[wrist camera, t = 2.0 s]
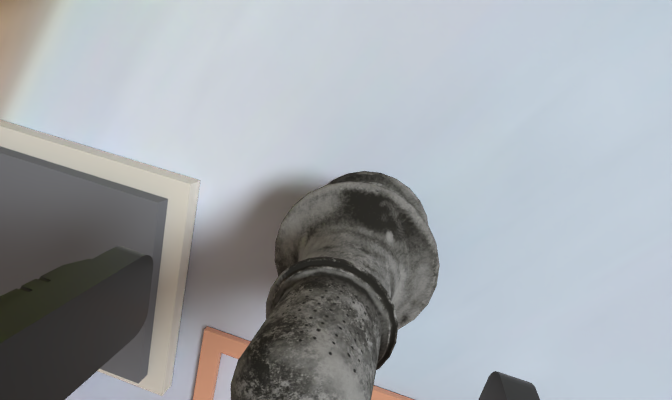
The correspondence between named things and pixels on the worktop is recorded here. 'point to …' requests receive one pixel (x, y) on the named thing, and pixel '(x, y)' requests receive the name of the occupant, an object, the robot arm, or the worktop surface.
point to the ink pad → (98, 231)
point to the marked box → (235, 347)
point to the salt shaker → (340, 291)
